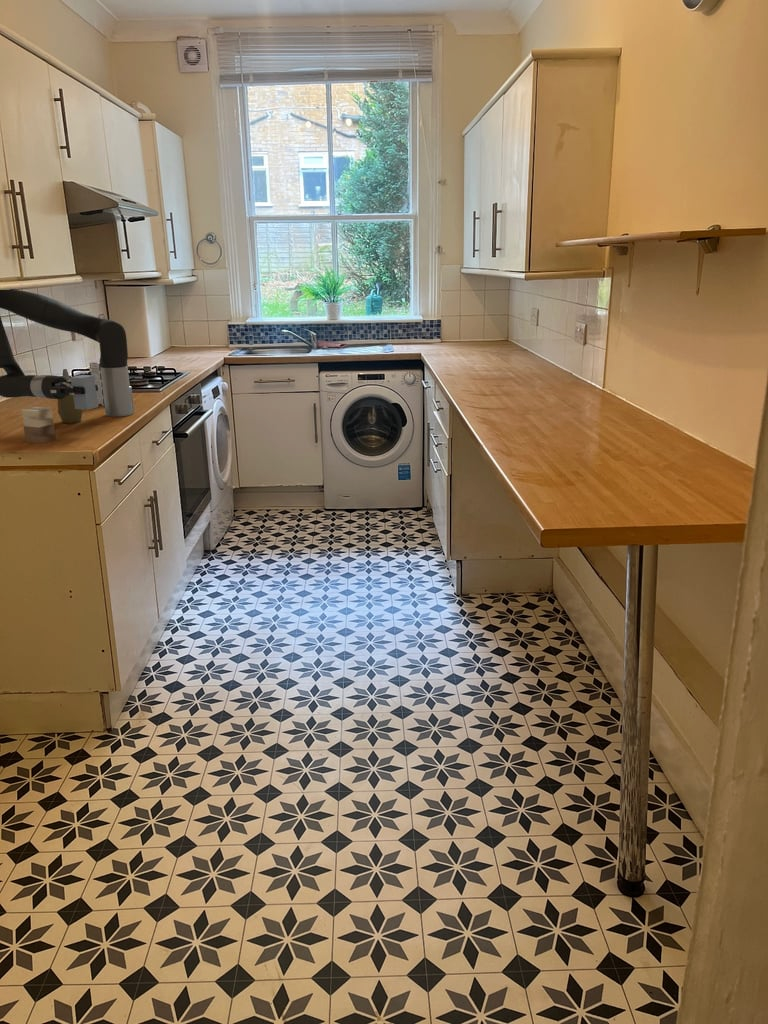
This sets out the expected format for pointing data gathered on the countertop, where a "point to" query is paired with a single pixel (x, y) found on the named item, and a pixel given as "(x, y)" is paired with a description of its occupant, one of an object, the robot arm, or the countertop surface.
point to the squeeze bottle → (68, 406)
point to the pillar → (90, 396)
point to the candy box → (98, 381)
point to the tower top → (37, 416)
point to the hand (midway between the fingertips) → (90, 389)
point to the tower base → (40, 434)
